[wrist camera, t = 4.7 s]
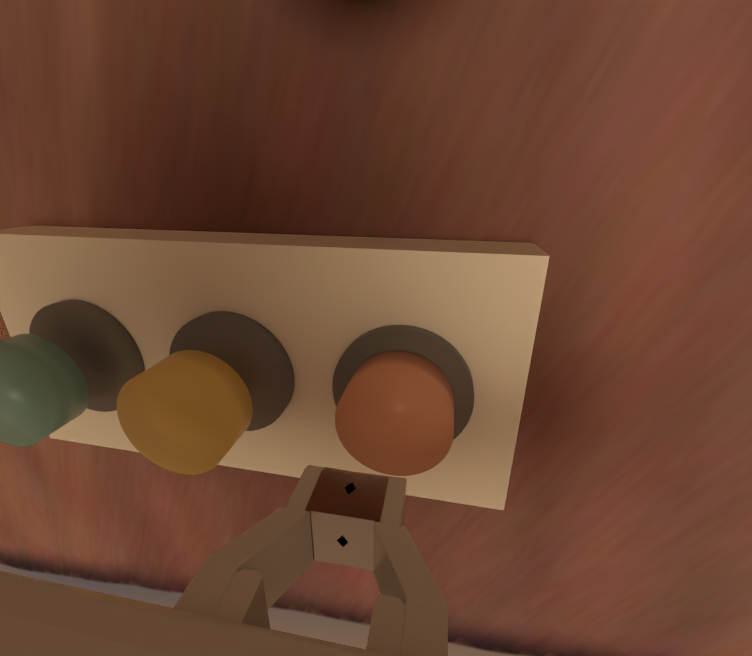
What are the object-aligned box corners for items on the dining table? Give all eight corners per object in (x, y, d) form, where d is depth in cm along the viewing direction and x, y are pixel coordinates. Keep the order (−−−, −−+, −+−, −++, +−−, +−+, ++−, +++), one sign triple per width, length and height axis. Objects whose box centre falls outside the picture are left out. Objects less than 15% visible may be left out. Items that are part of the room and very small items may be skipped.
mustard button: (167, 434, 17) (132, 465, 15) (145, 345, 15) (102, 368, 13) (258, 447, 16) (232, 482, 14) (245, 355, 14) (214, 380, 12)
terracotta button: (349, 435, 17) (336, 467, 15) (347, 346, 15) (332, 369, 13) (449, 449, 16) (448, 484, 14) (458, 356, 14) (459, 382, 12)
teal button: (23, 413, 18) (-25, 439, 16) (-12, 329, 16) (-70, 348, 15) (100, 424, 17) (58, 453, 15) (71, 337, 16) (21, 358, 14)
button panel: (94, 409, 25) (40, 444, 22) (34, 225, 20) (-47, 234, 17) (497, 465, 20) (505, 521, 17) (533, 242, 16) (553, 259, 12)
